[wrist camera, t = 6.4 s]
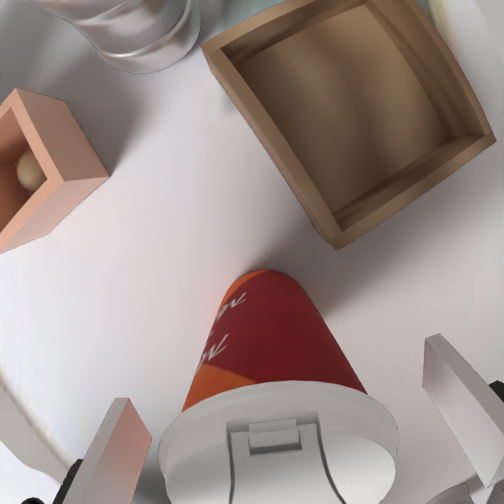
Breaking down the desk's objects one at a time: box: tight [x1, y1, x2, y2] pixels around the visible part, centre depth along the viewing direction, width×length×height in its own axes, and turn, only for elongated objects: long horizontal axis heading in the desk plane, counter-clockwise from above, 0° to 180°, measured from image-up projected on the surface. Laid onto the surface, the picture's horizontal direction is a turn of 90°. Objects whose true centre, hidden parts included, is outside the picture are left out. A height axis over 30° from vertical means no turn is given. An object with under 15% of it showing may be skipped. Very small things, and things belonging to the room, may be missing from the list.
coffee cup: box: [158, 270, 399, 504], centre depth 15 cm, size 8×8×15 cm
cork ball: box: [17, 149, 47, 192], centre depth 18 cm, size 3×3×3 cm
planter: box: [0, 87, 110, 254], centre depth 17 cm, size 7×7×6 cm
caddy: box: [200, 0, 496, 251], centre depth 16 cm, size 12×12×5 cm
